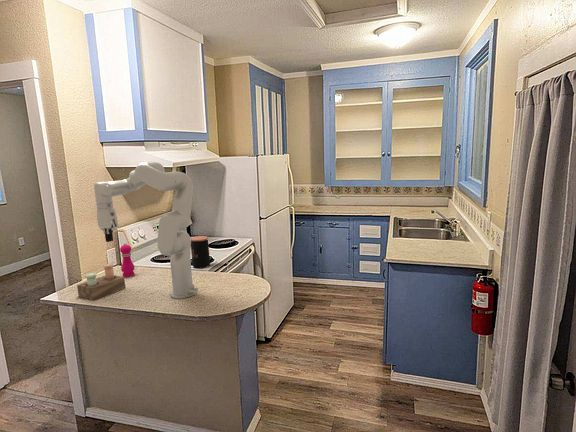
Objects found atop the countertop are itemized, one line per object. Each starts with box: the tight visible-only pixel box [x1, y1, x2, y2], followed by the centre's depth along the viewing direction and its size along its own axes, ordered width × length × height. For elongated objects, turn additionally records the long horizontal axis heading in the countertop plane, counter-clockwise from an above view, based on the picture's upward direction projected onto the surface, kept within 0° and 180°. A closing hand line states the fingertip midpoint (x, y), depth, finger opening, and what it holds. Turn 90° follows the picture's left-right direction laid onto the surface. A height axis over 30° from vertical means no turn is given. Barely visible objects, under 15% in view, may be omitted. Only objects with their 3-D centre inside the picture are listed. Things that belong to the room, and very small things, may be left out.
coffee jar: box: [190, 235, 211, 269], centre depth 226 cm, size 11×11×18 cm
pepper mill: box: [119, 241, 136, 278], centre depth 213 cm, size 7×7×20 cm
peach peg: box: [102, 263, 114, 280], centre depth 192 cm, size 5×5×10 cm
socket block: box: [76, 275, 126, 301], centre depth 189 cm, size 12×18×6 cm, turn 152°
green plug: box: [84, 272, 97, 286], centre depth 184 cm, size 5×5×10 cm
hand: (109, 241), depth 190 cm, fingers closed
